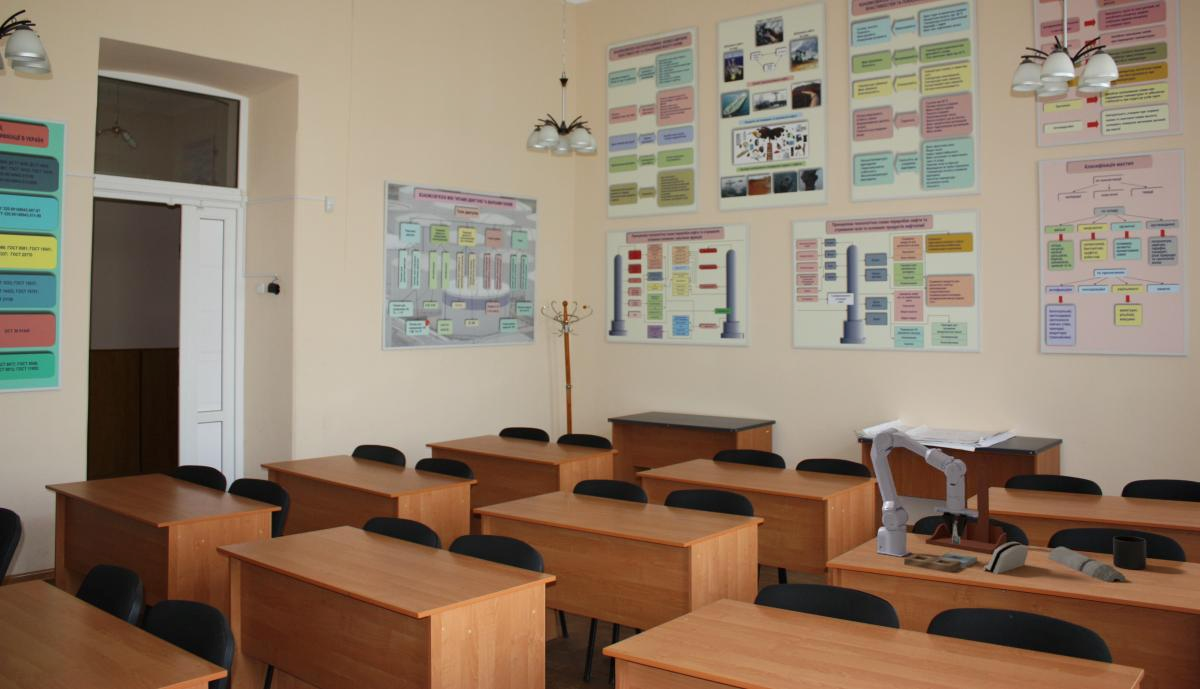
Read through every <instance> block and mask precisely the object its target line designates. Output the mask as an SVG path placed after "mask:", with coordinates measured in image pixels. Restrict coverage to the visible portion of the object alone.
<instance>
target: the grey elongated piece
mask: <svg viewBox="0 0 1200 689" xmlns="http://www.w3.org/2000/svg"><path fill="white" fill-rule="evenodd" d="M1048 559H1050V560H1052V561H1054V562H1057V563H1059V564H1061V565H1063V566H1066V567H1068V568H1070V569H1073V570H1074V571H1076V572H1081V573H1082V574H1085V575H1086V576H1089V577H1091V578H1096V579H1099V580H1100V581H1103V582H1106V583H1113V582H1114V581H1115V580H1116V581H1119V582H1127V579H1126V575H1124V574H1123V573H1121V572H1120V571H1118V570H1117V569H1115V568H1114V567H1112V566H1111V565H1110V564H1108V563H1105V562H1102V561H1100V560H1097V559H1095V558H1092V557H1089V556H1087V555H1085V554H1082V553H1080V552H1077V551H1075V550H1072V549H1070V548H1068V547H1065V546H1058V547H1055V548H1053V550H1052V551H1051V552H1050V554H1049V557H1048Z"/></svg>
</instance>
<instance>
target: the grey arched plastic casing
mask: <svg viewBox="0 0 1200 689" xmlns="http://www.w3.org/2000/svg"><path fill="white" fill-rule="evenodd" d="M1028 553H1029V548H1028V546H1026V545H1024V544H1022V543H1020V542H1017V541H1010V542H1008V541H1007V543H1005V544H1003V545H1001V546H1000V547H998V548H997V549H995V551H994V553H993V554H991V555H992V556H991V558H990V559H989V562H988V564H986V565H984V566H983V569H982V571H984V572H986V571H992V573H993V574H995V575H997V574H1001V573H1004V572H1008V571H1010V570H1014V569H1017V568H1021V567H1023V566H1025V563H1026V560H1027V556H1028V555H1029V554H1028Z"/></svg>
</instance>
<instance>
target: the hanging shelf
mask: <svg viewBox="0 0 1200 689" xmlns="http://www.w3.org/2000/svg"><path fill="white" fill-rule="evenodd" d="M963 462H964V463H965V465H966V468H967V470H966V473H965V474H964V483H965V509H968V465H967V464H966V462H965V461H963ZM982 468H983V470H982ZM989 476H990V475H989V467H988V465H987V464H986V463H984V462H983V463H979V464H977V466H976V501H977V502H976V504H977V505H976V507H977V508H976V509H977V510H976V511H978V517H976V519H977V520H976V521H977V522H971V521H970V522H969V520H968V521H967V523H966V526H965V529H964V533H963V536H962V537H960V544H954V543H952V535H949V532H948V528H947V525H946V523H945V522H944V523H941V524H939V525H938V526H937V527H936V529H935V531H934V533H933V534H932V536H930V537H929V538H925V544H927V545H932V546H937V547H943V548H950V549H955V550H961V551H967V552H973V553H977V554H978V553H980V554H986V555H989V556H990V555H993V553H994V551H995V549H997V548H998V547H1000V546H1001V545H1003V544H1005V543H1008V539H1007V536H1008V535H1007V532H1004V530H1003V528H1002V526H998V525H997V526H995V525H990V498H989V497H990V495H989V494H990V492H989V489H990V487H989V484H990V483H989V481H990V480H989ZM957 516H960V515H956V514H955V517H956V518H955V519H954V522H957Z"/></svg>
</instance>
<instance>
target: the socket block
mask: <svg viewBox="0 0 1200 689" xmlns="http://www.w3.org/2000/svg"><path fill="white" fill-rule="evenodd" d="M937 558H943V559H949V560H955V561H961V568H966V567H968V566H971V565H972V564H975V563H977V562H978V556H973V555H967V554H962V553H955V552H946V553H944V554H942V555H939V556H937Z"/></svg>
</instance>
